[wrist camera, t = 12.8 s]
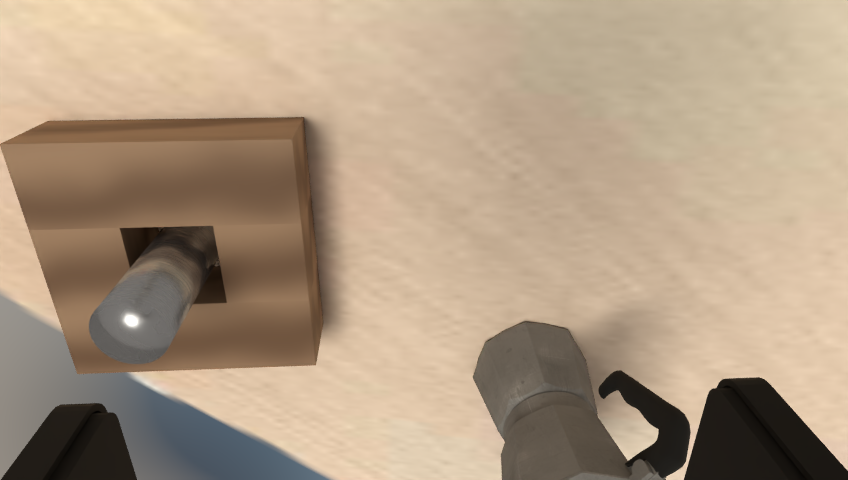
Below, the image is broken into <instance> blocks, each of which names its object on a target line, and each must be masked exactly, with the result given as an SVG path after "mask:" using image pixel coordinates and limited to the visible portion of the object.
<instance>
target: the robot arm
mask: <svg viewBox="0 0 848 480" xmlns="http://www.w3.org/2000/svg"><path fill="white" fill-rule="evenodd" d="M1 480H137V478H136V475H135V472H134V468H133V465H132V462H131V459H130V456H129V452H128V449H127V446H126V443H125V440H124V436H123V433H122V430H121V427H120V423H119V420H118V418H117V416H116V414H114V413H108V412H107V410H106V408H105V407H104V406H103V405H102V404H99V403H93V404H67V405H59V406H57V407H55V409H54V410H53V411H52V412H51V413H50V414H49V415H48V417H47V418H46V419H45V421H44V422H43V423H42V425H41V426H40V428H39V429H38V430H37V432H36V433H35V434H34V436H33V437H32V438H31V440H30V441H29V442H28V444H27V445H26V446H25V448H24V449H23V450H22V452H21V453H20V455H19V456H18V457H17V459H16V460H15V461H14V463H13V464H12V465H11V467H10V468H9V469H8V471H7V472H6V473H5V475H4V476H3V478H2V479H1ZM684 480H848V471H847V470H846V469H845V467H844V466H843V465H842V464H841V463H840V462H839V461H838V460H837V459H836V457H835V456H834V455H833V454H832V453H831V452H830V451H829V450H828V448H827V447H826V446H825V445H824V444H823V443H822V442H821V441H820V440H819V438H818V437H817V436H816V435H815V434H814V433H813V432H812V431H811V430H810V428H809V427H808V426H807V425H806V424H805V423H804V422H803V421H802V419H801V418H800V417H799V416H798V415H797V414H796V413H795V412H794V411H793V409H792V408H791V407H790V406H789V405H788V404H787V403H786V402H785V401H784V399H783V398H782V397H781V396H780V395H779V394H778V393H777V392H776V390H775V389H774V388H773V387H772V386H771V385H770V384H769V383H768V382H767V381H766V380H764V379H762V378H759V377H758V378H733V379H723V380H721V381H720V382H719V384H718V386H717V388H715V389H712V390H710V392H709V394H708V396H707V400H706V404H705V407H704V411H703V414H702V418H701V421H700V425H699V428H698V432H697V435H696V439H695V443H694V446H693V450H692V453H691V457H690V460H689V464H688V467H687V471H686V474H685V478H684Z"/></svg>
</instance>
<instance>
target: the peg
mask: <svg viewBox="0 0 848 480" xmlns="http://www.w3.org/2000/svg"><path fill="white" fill-rule="evenodd" d="M218 259H219V256H218V250H217V245H216V239H215V234H214V228H213V226H180V227H164V228H163V229H162V230H161V231H160V233H159V234H158V235H157V236H156V237H155V239H154V240H153V241H152V242H151V243H150V245H149V246H148V247H147V248H146V249H145V251H144V252H143V253H142V254H141V255H140V257H139V258H138V259H137V260H136V261H135V263H134V264H133V265H132V266H131V267H130V269H129V270H128V271H127V272H126V274H125V275H124V276H123V277H122V278H121V280H120V281H119V282H118V283H117V284H116V286H115V287H114V288H113V289H112V290H111V292H110V293H109V294H108V295H107V296H106V298H105V299H104V300H103V301H102V302H101V304H100V305H99V306H98V307H97V308H96V310H95V311H94V312H93V314H92V315H91V317H90V320H89V332H90V336H91V338H92V340H93V342H94V343H95V345H96V346H97V347H98V348H99V349H100V350H101V351H102V352H103V353H104V354H106V355H107V356H109V357H111V358H113V359H115V360H117V361H120V362H123V363H128V364H145V363H150V362H153V361H155V360H157V359H159V358H160V357H161V356H162V355H164V353H165V352H166V351H167V349H168V348H169V346H170V344H171V342H172V340H173V339H174V337H175V335H176V333H177V332H178V330H179V328H180V326H181V324H182V323H183V321H184V319H185V317H186V316H187V314H188V312H189V310H190V308H191V307H192V305H193V303H194V301H195V299H196V298H197V296H198V294H199V292H200V291H201V289H202V287H203V285H204V283H205V282H206V280H207V278H208V276H209V275H210V273H211V271H212V269H213V267H214V266H215V264H216V262H217V260H218Z"/></svg>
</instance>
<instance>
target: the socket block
mask: <svg viewBox="0 0 848 480" xmlns="http://www.w3.org/2000/svg"><path fill="white" fill-rule="evenodd" d="M0 146H1V149H2V152H3V155H4V158H5V161H6V164H7V167H8V170H9V173H10V176H11V179H12V182H13V185H14V188H15V191H16V194H17V197H18V200H19V203H20V206H21V209H22V212H23V215H24V217H25V220H26V223H27V226H28V229H29V232H30V235H31V238H32V241H33V244H34V247H35V250H36V253H37V256H38V259H39V262H40V265H41V268H42V271H43V274H44V277H45V280H46V283H47V286H48V288H49V291H50V294H51V297H52V300H53V303H54V306H55V309H56V312H57V315H58V318H59V321H60V324H61V327H62V330H63V333H64V336H65V339H66V341H67V345H68V347H69V350H70V353H71V357H72V359H73V362H74V365H75V368H76V371H77V374H87V373H114V372H115V373H116V372H143V371H170V370H198V369H225V368H252V367H279V366H307V365H316V361H317V356H318V350H319V344H320V339H321V333H322V327H323V317H322V307H321V296H320V285H319V275H318V264H317V254H316V243H315V232H314V222H313V211H312V201H311V190H310V179H309V169H308V158H307V148H306V137H305V126H304V117H295V118H227V119H159V120H91V121H47V122H45V123H43V124H41V125H39V126H37V127H35V128H32V129H30V130H28V131H26V132H24V133H22V134H20V135H18V136H16V137H14V138H12V139H10V140H8V141H5V142H3V143H1V144H0ZM180 226H213V228H214V234H215V239H216V245H217V250H218V256H219V261H220V266H217V267H213V269H212V271H211V273H210V275H209V276H208V278H207V280H206V282H205V283H204V285H203V287H202V289H201V291H200V292H199V294H198V296H197V298H196V299H195V301H194V303H193V305H192V307H191V308H190V310H189V312H188V314H187V316H186V317H185V319H184V321H183V323H182V324H181V326H180V328H179V330H178V332H177V333H176V335H175V337H174V339H173V340H172V342H171V344H170V346H169V348H168V349H167V351H166V352H165V353H164V355H162V356H161V357H160V358H159V359H157V360H155V361H153V362H150V363H145V364H128V363H123V362H120V361H117V360H115V359H113V358H111V357H109V356H107V355H106V354H104V353H103V352H102V351H101V350H100V349H99V348H98V347H97V346H96V345H95V343H94V342H93V340H92V338H91V336H90V332H89V320H90V317H91V315H92V314H93V312H94V311H95V310H96V308H97V307H98V306H99V305H100V304H101V302H102V301H103V300H104V299H105V298H106V296H107V295H108V294H109V293H110V292H111V290H112V289H113V288H114V287H115V286H116V284H117V283H118V282H119V281H120V280H121V278H122V277H123V276H124V275H125V274H126V272H127V271H128V270H129V269H130V267H131V266H132V265H133V264H134V263H135V261H136V260H137V259H138V258H139V257H140V255H141V254H142V253H143V252H144V251H145V249H146V248H147V247H148V246H149V245H150V243H151V242H152V241H153V240H154V239H155V237H156V236H157V235H158V234H159V232H158V227H180Z"/></svg>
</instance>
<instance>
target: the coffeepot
mask: <svg viewBox="0 0 848 480" xmlns="http://www.w3.org/2000/svg"><path fill="white" fill-rule="evenodd" d="M473 379H474V381H475V383H476V385H477V387H478V389H479V391H480V394H481V396H482V398H483V400H484V402H485V404H486V406H487V408H488V411H489V413H490V415H491V417H492V419H493V421H494V423H495V425H496V427H497V429H498V431H499V433H500V434H501V436H502V438H503V439H504V441H505V444H504V447H503V450H502V453H501V465H502V480H666V479H665V478H666V476H668V475H670V474H672V473H674V472H675V471H677V470H678V469H680V468H681V467H682V466H683V465H684V464H685V462H686V458H687V451H688V445H689V439H690V433H691V432H690V425H689V422H688V420H687V418H686V416H685V414H684V413H682V412H681V411H680V410H679V409H677V408H676V407H674V406H673V405H671V404H669V403H668V402H666V401H665V400H663V399H662V398H660V397H659V396H657V395H656V394H655V393H653V392H652V391H650V390H649V389H647V388H646V387H644V386H643V385H641V384H640V383H639V382H637V381H636V380H634V379H633V378H631V377H630V376H628V375H627V374H625V373H624V372H622V371H615V372H613V373H612V374H610V375H609V376H608V377H607V378H606V379H605V381H604V382H603V383H602V384H601V385H600V387H599V394H600V396H601V398H603V399H604V398H606V396H608V395H609V394H610V393H612V392H614V391H616V390H619V391H620V393H621V395H622V397H623V399H624V400H625V401H626V403H628V404H629V405H631V406H633V407H635V408H637V409H638V410H639V411H640V412H641V413H642V415H643V416H644V418H645V419H646V420H647V421H648V422H649V423H650V424H651V425H653V426H654V427H656V428H658V429H659V434H658V438H657V441H656V442H655V443H654V444H653V445H651V446H650V447H648V448H647V449H645V450H643V451H642V452H640V453H639V454H637V455H636V456H634V457H633V458H632V459H630V460H629V461H627V459H626V458H625V456H624V455H623V453H622V452H621V450H620V449H619V448H618V446H617V445H616V443H615V442H614V440H613V439H612V437H611V436H610V434H609V433H608V431H607V430H606V429H605V427H604V426H603V424H602V423H601V421H600V420H599V418H598V417H597V409H596V405H595V400H594V395H593V391H592V386H591V382H590V377H589V373H588V368H587V364H586V360H585V358H584V356H583V355H582V353H581V351H580V350H579V348H578V346H577V344H576V343H575V341H574V339H573V338H572V336H571V334H570V333H569V331H568V330H567V329H563V328H559V327H556V326H552V325H549V324H544V323H528V322H524V323H521V324H518V325H516V326H513V327H511V328H508V329H506V330H504V331H502V332H501V333H499V334H497V335H496V336H495V337H494V338H492V339H491V340H489V341H487V342H485V345H484V347H483V350H482V352H481V354H480V356H479V358H478V362H477V367H476V370H475V373H474V376H473Z"/></svg>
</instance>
